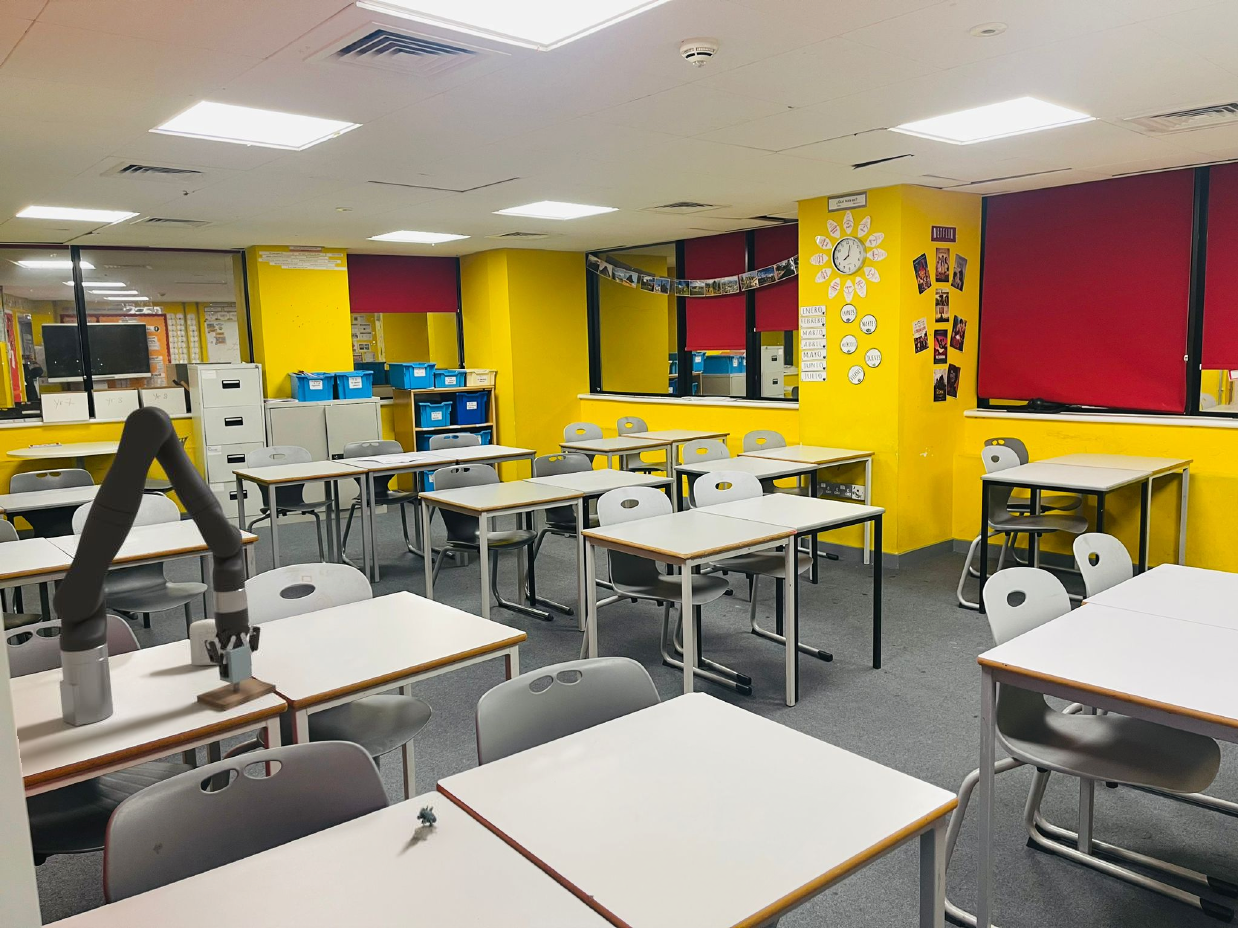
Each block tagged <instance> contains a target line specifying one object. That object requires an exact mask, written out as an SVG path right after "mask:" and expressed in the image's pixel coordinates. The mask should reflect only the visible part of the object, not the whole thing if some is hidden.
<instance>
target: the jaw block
mask: <svg viewBox="0 0 1238 928" xmlns="http://www.w3.org/2000/svg"><path fill="white" fill-rule="evenodd" d="M218 649H219V648H218ZM226 649H227V648H224V649H223V650H226ZM218 653H219V652H218ZM223 656H224V654H223ZM227 663H228V669H229V678H226V679H225V678H222V676H220V675H219V681H222V682H225V683H229V684H231V683H232V684H234V683H237V682H240V681H242V680H245V679H248V678H253V671H252V666H251V663H252V654H251V655H250V646H249V645H246V646H243V644H242V646H239V647H235V648H233V649H232V650H231V651H229V654H228V662H227Z"/></svg>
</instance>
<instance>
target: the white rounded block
mask: <svg viewBox="0 0 1238 928" xmlns="http://www.w3.org/2000/svg"><path fill="white" fill-rule="evenodd" d="M216 633H217V629H216V627H215V618H208V619H202V620H198V621H195V622H192V623H191V624H190V626H189V646H190V647H189V648H190V660H191V662H190V663H191V664H190V665H192V666H194V667H195V666H210V665H211V666H212V665H213V666H219V664H216V663H213V662H210V659H209V656H208V653H207V650H206V646H205V643H204V642H205V640H211V639H213V638H215V636H216ZM217 645H218V646H217V650H218V648H219V645H220V643H219V642H218V643H217Z"/></svg>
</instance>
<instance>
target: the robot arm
mask: <svg viewBox="0 0 1238 928" xmlns="http://www.w3.org/2000/svg"><path fill="white" fill-rule="evenodd" d="M154 460H156V461H157V462H158V463H159V465H160V466H161V468H162V470H163V471H164V473H165V476H166V477H167V479H168V481H169V483H170V485H171V487H172V489H173V491H174V494H175V496H176V497H177V499H178V500H179V502H180V504H181V505H182V506H183V508H184V509H185V511H186V513H187V514H188V515H189V517H190V519H192V521H193V522H194V523H195V525H196V528H197V529H198V531H199V533H200V535H201V537H202V539H203V540H204V543H205V544H206V546H207V547H208V549H209V551H210V552H211V553H212V560H213V569H212V587H213V597H212V598H213V599H212V600H213V601H212V603H213V615H214V616H213V617H214V619H215V627H216V629H217V633H216V636H215V638H213V639H211V640H205V642H204V643H205V646H206V650H207V653H208V656H209V659H210V662H213V663H216V664H219V665H218V673H219V674H218V675H219V677H220V676H222V678H225V679H226V678H229V669H228V663H227V662H228V654H229V651H231V650H232V649H233V648H235V647H239V646H242V644H243V646H246V645H249V646H250V655H251V656H252V654H253V653H254V652H257V651H258V650H259V644H260V637H261V627H260V626H257V625H251V626H249V622H250V620H249V619H250V617H249V608H248V607H249V605H248V594H247V589H246V581H245V579H246V578H245V571H244V566H243V560H244V559H243V557H244V556H243V535H242V533H241V530H240V529H239V528H238V527H237V526H236V525H234V524H232V523H230V522H229V520H228V518H227V517H226V515H225V514H224V512H223V507H222V505H221V503H220V501H219V500H218V498H217V497H216V495H215V494H214V492H213V491H212V489H211V488H210V486H209V485H208V483H207V482H206V480H205V479H204V477H202V474H200V472H199V470H198V469H197V468H196V466H195V465H194V463H193V461H192V460H191V458H190V457H189V455H188V453H187V452H186V450H185V448H184V446H183V445H182V443H181V440H180V439H179V435H178V434H177V431H176V429H175V427H174V423H173V421H172V419H171V417H170V415H169V413H167V412H166V411H165V410H163V409H162V408H159V407H158V406H151V405H150V406H143V407H139V408H136V409H135V410H133V411H132V412H131V413H130V414H129V415H128V416H127V417H126V420H125V421H124V425H123V428H122V432H121V435H120V441H119V444H118V447H117V450H116V453H115V456H114V459H113V461H112V463H111V465H110V467H109V469H108V471H107V473H106V474H105V476H104V478H103V480H102V482H101V484H100V486H99V488H98V490H97V493H96V494H95V497H94V499H93V501H92V504H91V506H90V508H89V511H88V514H87V517H86V518H85V519H86V520H85V522H84V525H83V528H82V531H81V535H80V537H79V541H78V544H77V547H76V551H75V554H74V557H73V559H72V561H71V563H70V565H69V568H68V569H67V572H66V573H65V575H64V577H63V579H62V580H61V582H60V584H59V586H58V587H57V589H56V591H55V592H54V595H53V597H52V609H53V611H54V613H55V615H56V616H57V617H58V618H59V619H60V634H59V640H58V641H59V649H60V659H61V660H60V661H61V668H62V679H63V680H60V681H59V691H60V701H61V703H60V704H61V713H62V720H63V722H65V723H67V724H70V725H73V726H75V727H78V726H81V725H87V724H92V723H97V722H100V721H102V720H105V719H108V718H109V717H110V716H112V715H113V714H114V705H113V696H112V683H111V673H110V662H109V661H110V660H109V652H108V651H109V650H108V639H107V637H108V636H107V631H108V617H107V616H108V615H107V613H108V612H107V602H106V601H107V599H106V593H105V589H104V583H105V580H106V578H107V577H106V576H107V574H108V571H109V569H110V567H111V565H112V564H113V561H114V559H115V558H116V556H117V555H118V552H119V551H120V550H121V549H122V546H124V544H125V542H126V540H127V538H128V535H129V534H130V532H131V530H132V528H133V525H134V522H135V520H136V518H137V516H138V512H139V511H140V508H141V507H140V506H141V504H142V501H143V497H144V493H145V486H146V482H147V477H148V473H149V471H150V469H151V465H153V462H154ZM248 635H249V637H248ZM247 638H248V639H247ZM218 642H219V643H220V645H219V649H218V650H217V646H218V645H217V643H218ZM224 648H227V649H226V650H223V649H224ZM218 652H219V653H218ZM223 654H224V656H223ZM252 665H253V664H252V662H251V667H252Z"/></svg>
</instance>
